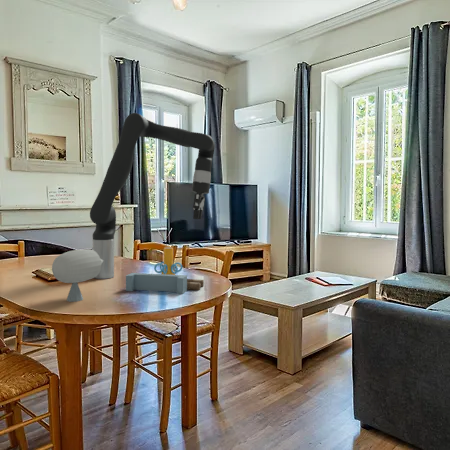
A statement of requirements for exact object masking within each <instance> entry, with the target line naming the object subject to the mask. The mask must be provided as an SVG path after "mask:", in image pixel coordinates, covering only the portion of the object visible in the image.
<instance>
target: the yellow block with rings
mask: <svg viewBox="0 0 450 450" xmlns="http://www.w3.org/2000/svg"><path fill="white" fill-rule="evenodd" d="M178 265H179V266H180V268H178ZM158 266H159V271H158V269H157V267H158ZM153 269H154V272H155V273H156V274H167V275H177V273H180V272H181V271H182V270H183V264H182V263H181V262H179V261H177V262H174V248H173V247H169V246H168V247H163V261H160V262H157V263H156V264H155V265H154V267H153Z"/></svg>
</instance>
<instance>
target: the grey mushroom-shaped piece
mask: <svg viewBox="0 0 450 450" xmlns="http://www.w3.org/2000/svg"><path fill="white" fill-rule="evenodd" d="M102 262H103V260H102V259H101V258H100V257H99V255H98V254H97V253H96V252H95V251H94V250H93V249H88V248H85V249H75V250H74V249H73V250H69V251H67V252H66V251H65V252H63V253H61V254H60V255H58V256H56V257H55V259H54V260H53V262H52V264H51V271H52V272H51V273H52V275H53V277H54V278H55V279H56V280H57V281H59V282H62V283H66V284H71V286H70V290H69V292H68V294H67V295H68V296H67V298H66V302H69V303H71V302H80V301H83V300H84V297H83V294H82V291H81V288H80V286H79V284H78V283H83V282H85V281H88V280H91V279H95V278H94V277H96V276H97V275H98V274H99V273H100V270H101V264H102Z"/></svg>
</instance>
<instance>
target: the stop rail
mask: <svg viewBox="0 0 450 450" xmlns="http://www.w3.org/2000/svg"><path fill="white" fill-rule="evenodd" d="M187 279H188V275H184V274H183V275H182V274H175V275H167V274H161V273H147V272H146V273H140V272H131V273H129V274H126V275H125V292H133V291H135V290H137V291H152V292H153V291H155V292H157V291H158V292H174V293H175V292H176V295H177V294H178V295H184V294H185V293H186V292H187V291H188V290H187Z"/></svg>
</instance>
